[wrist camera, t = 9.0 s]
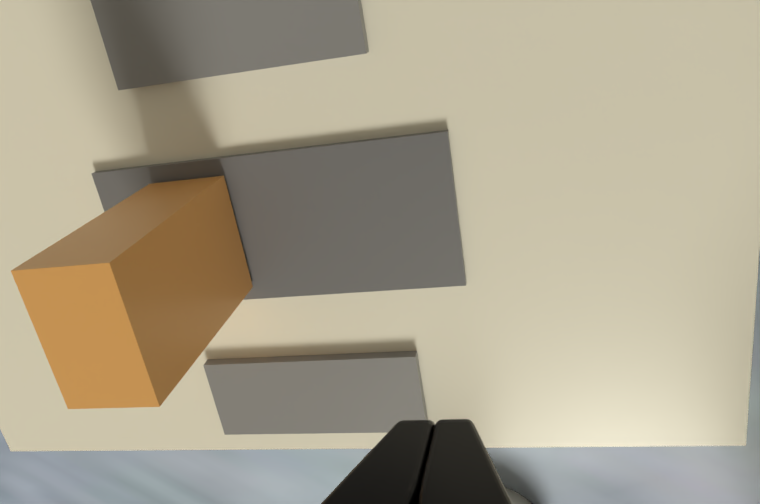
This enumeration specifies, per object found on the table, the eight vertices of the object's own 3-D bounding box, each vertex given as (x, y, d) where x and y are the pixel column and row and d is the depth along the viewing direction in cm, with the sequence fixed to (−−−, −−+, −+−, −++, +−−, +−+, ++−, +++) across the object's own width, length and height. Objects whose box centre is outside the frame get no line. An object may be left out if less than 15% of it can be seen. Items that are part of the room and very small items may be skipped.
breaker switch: (223, 175, 16) (108, 262, 11) (253, 286, 17) (159, 406, 12) (149, 183, 16) (10, 271, 12) (182, 291, 17) (68, 409, 13)
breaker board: (735, -176, 14) (798, -213, 11) (712, 377, 19) (749, 453, 16) (-100, -6, 19) (-214, 1, 16) (66, 396, 24) (4, 457, 21)
